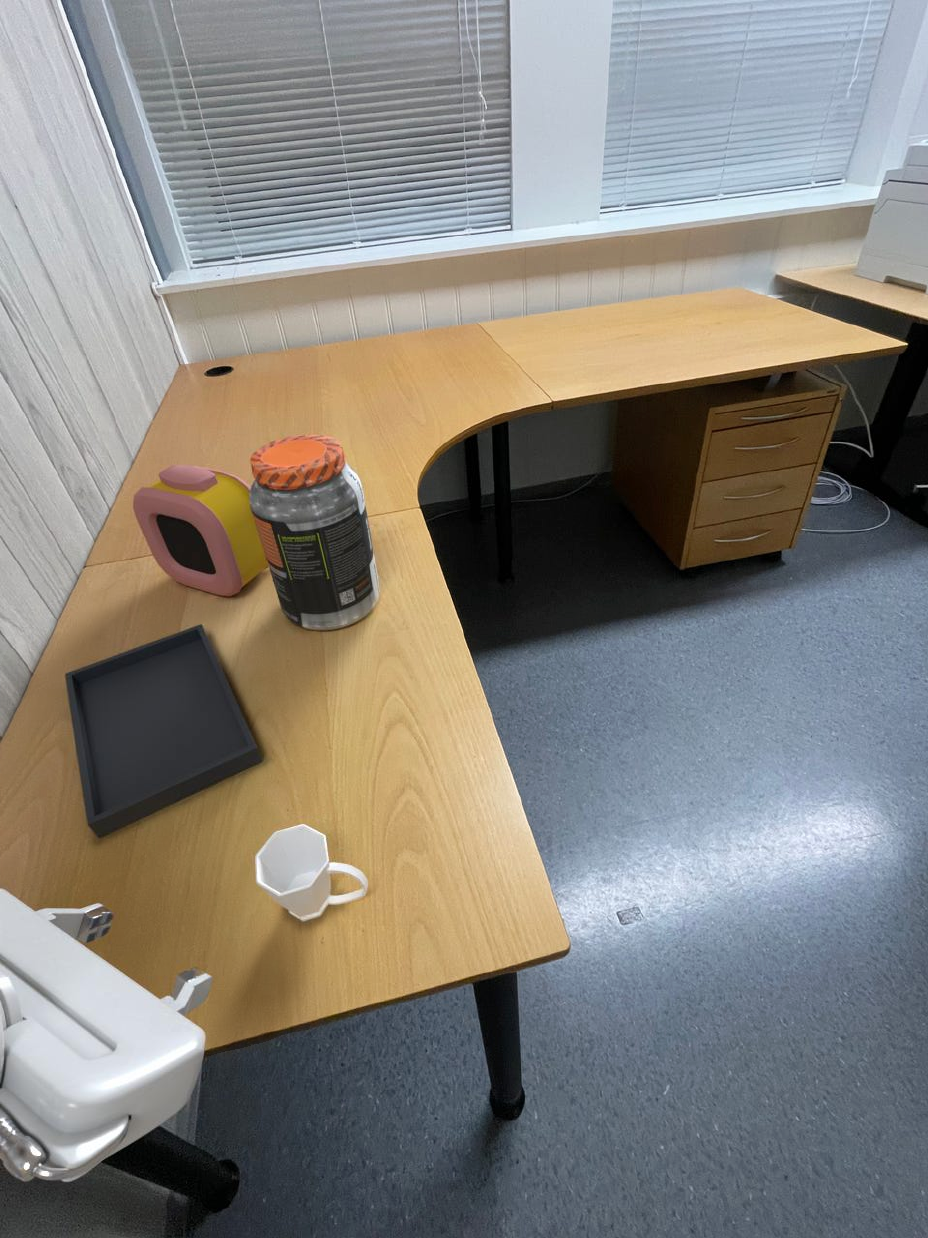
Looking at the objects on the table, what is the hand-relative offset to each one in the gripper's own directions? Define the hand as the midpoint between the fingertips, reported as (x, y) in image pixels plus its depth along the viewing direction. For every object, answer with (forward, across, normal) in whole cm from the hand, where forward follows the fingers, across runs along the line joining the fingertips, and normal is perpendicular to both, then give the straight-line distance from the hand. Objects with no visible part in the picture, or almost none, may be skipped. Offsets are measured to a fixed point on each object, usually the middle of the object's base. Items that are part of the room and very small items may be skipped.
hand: (152, 948), depth 41 cm
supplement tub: (+49, +28, -25) cm, 62 cm away
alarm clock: (+48, +50, -24) cm, 73 cm away
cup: (+21, -1, +3) cm, 21 cm away
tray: (+28, +33, -4) cm, 43 cm away
